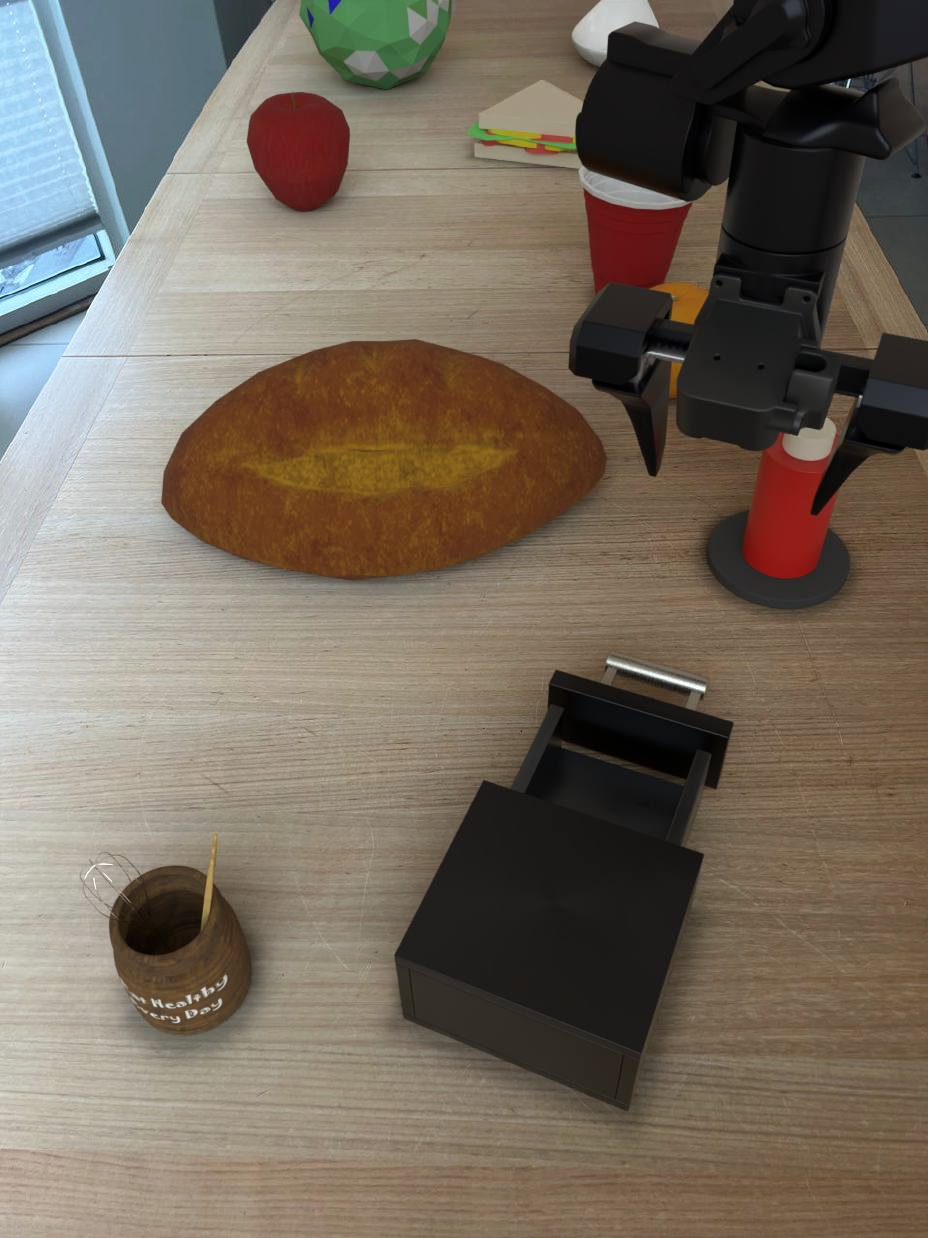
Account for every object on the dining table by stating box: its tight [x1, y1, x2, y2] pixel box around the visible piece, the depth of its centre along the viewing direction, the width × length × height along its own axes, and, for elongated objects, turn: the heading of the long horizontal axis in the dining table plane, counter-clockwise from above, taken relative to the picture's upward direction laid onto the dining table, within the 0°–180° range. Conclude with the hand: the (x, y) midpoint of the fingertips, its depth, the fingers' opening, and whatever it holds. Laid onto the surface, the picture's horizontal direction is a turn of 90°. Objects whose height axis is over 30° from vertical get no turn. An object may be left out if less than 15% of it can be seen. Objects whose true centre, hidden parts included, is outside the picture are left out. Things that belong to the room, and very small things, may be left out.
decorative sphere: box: [298, 0, 457, 90], centre depth 136 cm, size 19×20×20 cm
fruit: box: [649, 281, 709, 399], centre depth 88 cm, size 10×10×8 cm
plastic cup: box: [577, 166, 695, 296], centre depth 96 cm, size 11×11×12 cm
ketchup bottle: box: [742, 417, 840, 579], centre depth 70 cm, size 5×5×11 cm
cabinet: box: [393, 779, 705, 1112], centre depth 51 cm, size 10×11×6 cm
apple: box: [246, 91, 351, 213], centre depth 113 cm, size 11×11×12 cm
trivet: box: [706, 509, 851, 610], centre depth 74 cm, size 10×10×1 cm
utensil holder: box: [79, 832, 252, 1037], centre depth 49 cm, size 6×6×12 cm
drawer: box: [509, 649, 735, 848], centre depth 59 cm, size 14×10×5 cm
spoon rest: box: [571, 0, 660, 68], centre depth 147 cm, size 24×12×7 cm, turn 167°
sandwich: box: [465, 79, 584, 170], centre depth 122 cm, size 15×20×5 cm
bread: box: [160, 338, 608, 581], centre depth 76 cm, size 21×33×12 cm, turn 92°
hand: (732, 491), depth 61 cm, fingers open, 9 cm apart
